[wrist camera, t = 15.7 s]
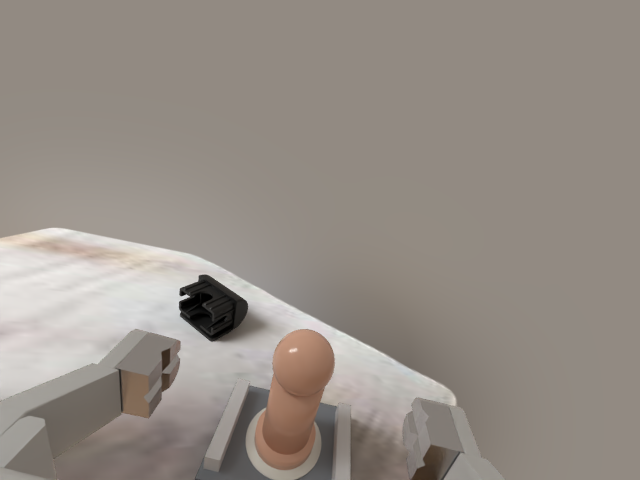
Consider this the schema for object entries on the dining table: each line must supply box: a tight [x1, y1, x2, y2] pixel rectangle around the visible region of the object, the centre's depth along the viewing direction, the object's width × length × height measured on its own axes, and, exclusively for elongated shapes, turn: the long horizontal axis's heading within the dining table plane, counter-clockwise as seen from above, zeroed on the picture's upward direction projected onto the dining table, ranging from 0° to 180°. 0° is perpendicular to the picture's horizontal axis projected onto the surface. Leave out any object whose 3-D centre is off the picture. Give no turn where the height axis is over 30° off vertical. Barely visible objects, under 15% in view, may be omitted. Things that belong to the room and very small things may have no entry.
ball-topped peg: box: [254, 329, 335, 470], centre depth 33 cm, size 7×7×15 cm
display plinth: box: [195, 378, 351, 480], centre depth 36 cm, size 16×12×4 cm
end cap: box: [179, 275, 248, 341], centre depth 54 cm, size 10×7×7 cm
